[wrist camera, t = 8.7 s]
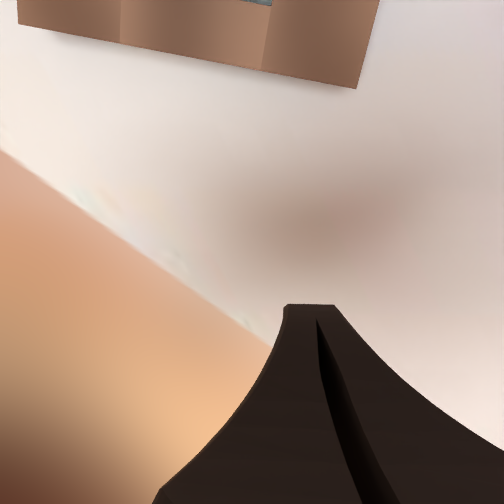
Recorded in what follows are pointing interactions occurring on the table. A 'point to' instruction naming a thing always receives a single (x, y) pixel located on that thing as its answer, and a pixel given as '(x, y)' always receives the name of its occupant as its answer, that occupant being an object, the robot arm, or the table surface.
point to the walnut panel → (226, 31)
